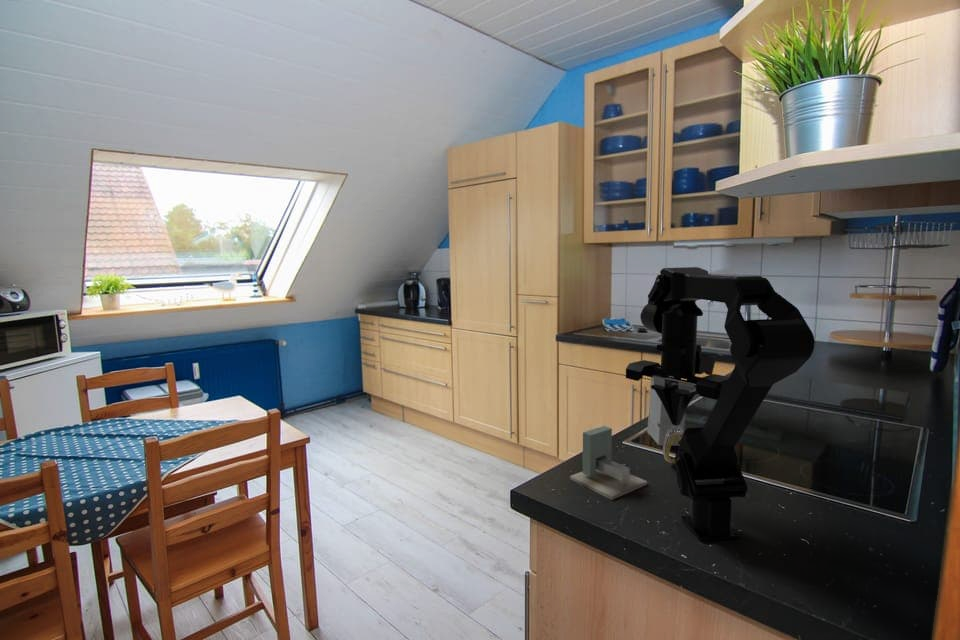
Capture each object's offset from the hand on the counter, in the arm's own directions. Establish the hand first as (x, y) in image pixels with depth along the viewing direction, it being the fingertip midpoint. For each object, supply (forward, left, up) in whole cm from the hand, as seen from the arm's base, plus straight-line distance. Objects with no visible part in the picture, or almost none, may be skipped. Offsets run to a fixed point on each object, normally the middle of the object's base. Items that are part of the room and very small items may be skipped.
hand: (676, 424), depth 89 cm
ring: (+12, -6, -13) cm, 19 cm away
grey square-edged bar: (+7, +11, -12) cm, 18 cm away
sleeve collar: (+9, +12, -12) cm, 19 cm away
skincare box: (+25, -10, -13) cm, 30 cm away
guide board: (+5, +10, -13) cm, 17 cm away
